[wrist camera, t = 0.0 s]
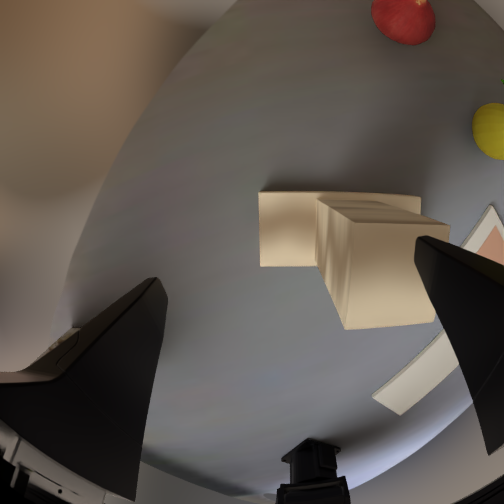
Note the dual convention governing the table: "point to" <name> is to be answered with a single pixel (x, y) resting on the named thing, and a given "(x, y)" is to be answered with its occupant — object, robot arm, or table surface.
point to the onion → (404, 20)
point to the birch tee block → (353, 250)
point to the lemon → (490, 129)
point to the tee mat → (440, 350)
